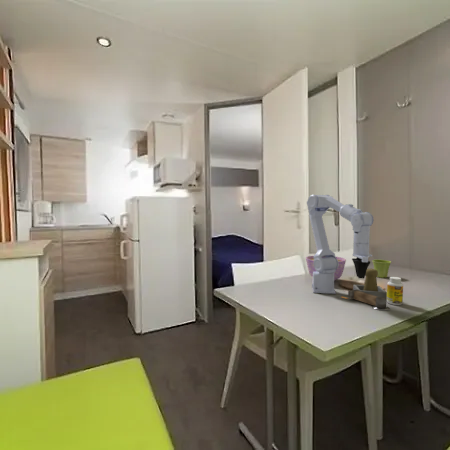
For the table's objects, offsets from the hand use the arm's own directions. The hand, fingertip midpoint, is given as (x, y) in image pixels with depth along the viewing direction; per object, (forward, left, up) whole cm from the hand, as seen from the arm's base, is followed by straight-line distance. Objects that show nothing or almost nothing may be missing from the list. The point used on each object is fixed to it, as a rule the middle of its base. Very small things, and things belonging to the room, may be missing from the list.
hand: (360, 277), depth 123 cm
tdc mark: (-5, +7, -10) cm, 13 cm away
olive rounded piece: (+7, +13, -10) cm, 17 cm away
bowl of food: (-9, +37, -11) cm, 40 cm away
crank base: (+7, -5, -10) cm, 13 cm away
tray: (+7, +14, -10) cm, 19 cm away
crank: (+3, 0, -10) cm, 10 cm away
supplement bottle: (+14, +3, -11) cm, 17 cm away
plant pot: (+22, +53, -11) cm, 59 cm away
